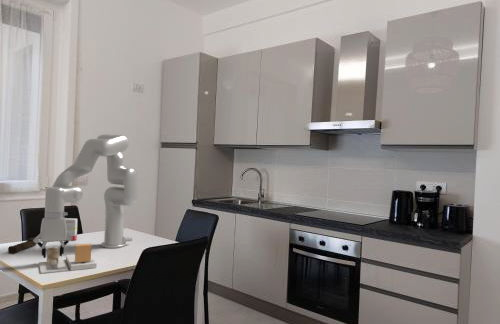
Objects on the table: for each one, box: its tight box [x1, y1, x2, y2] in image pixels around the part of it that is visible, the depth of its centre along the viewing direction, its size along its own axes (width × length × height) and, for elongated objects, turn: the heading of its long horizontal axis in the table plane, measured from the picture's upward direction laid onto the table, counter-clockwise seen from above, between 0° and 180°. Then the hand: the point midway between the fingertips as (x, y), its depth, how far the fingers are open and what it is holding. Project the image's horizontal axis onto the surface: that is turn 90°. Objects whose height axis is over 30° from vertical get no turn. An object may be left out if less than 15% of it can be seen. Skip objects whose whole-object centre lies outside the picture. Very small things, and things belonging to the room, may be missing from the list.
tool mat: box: [38, 259, 69, 275], centre depth 161 cm, size 10×16×1 cm, turn 32°
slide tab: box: [74, 243, 92, 263], centre depth 164 cm, size 6×3×7 cm, turn 122°
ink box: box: [63, 217, 78, 242], centre depth 211 cm, size 9×5×12 cm, turn 101°
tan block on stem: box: [46, 246, 60, 270], centre depth 163 cm, size 4×14×6 cm, turn 32°
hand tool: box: [7, 236, 38, 255], centre depth 188 cm, size 19×4×5 cm, turn 174°
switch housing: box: [65, 254, 97, 271], centre depth 168 cm, size 10×18×2 cm, turn 32°
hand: (52, 255), depth 166 cm, fingers open, 5 cm apart
